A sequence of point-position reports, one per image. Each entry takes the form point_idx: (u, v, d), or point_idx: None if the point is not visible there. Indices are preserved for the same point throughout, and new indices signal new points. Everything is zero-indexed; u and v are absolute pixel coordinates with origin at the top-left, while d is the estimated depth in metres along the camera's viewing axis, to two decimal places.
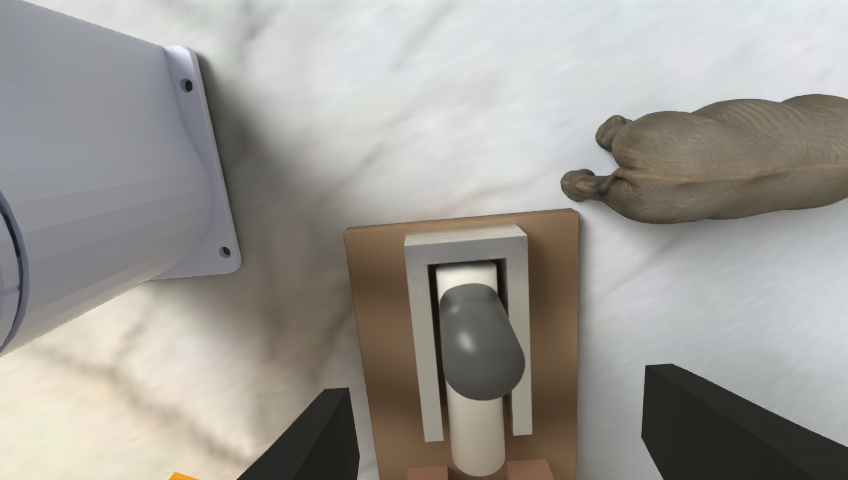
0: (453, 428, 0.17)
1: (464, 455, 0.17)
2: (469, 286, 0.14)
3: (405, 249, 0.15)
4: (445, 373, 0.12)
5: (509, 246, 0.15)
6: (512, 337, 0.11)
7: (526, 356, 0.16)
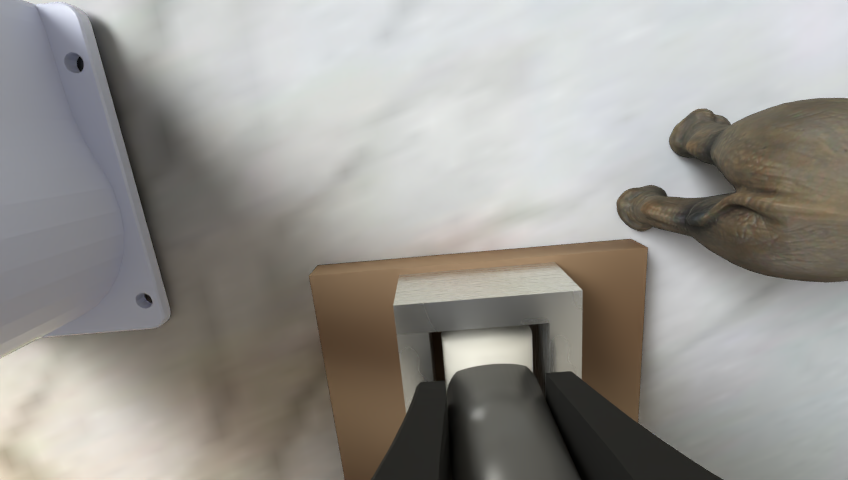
0: None
1: None
2: (494, 371, 0.09)
3: (395, 310, 0.10)
4: None
5: (554, 306, 0.10)
6: None
7: None
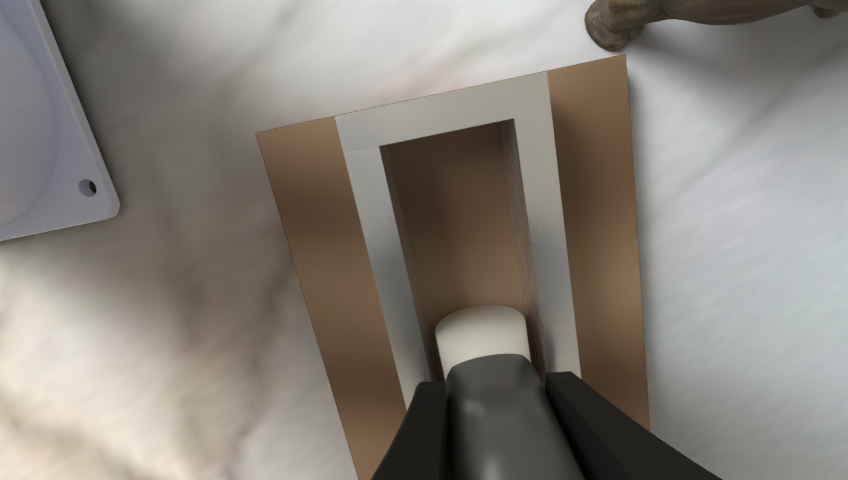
0: None
1: None
2: (488, 363, 0.09)
3: (337, 121, 0.09)
4: None
5: (517, 95, 0.08)
6: None
7: (565, 292, 0.10)
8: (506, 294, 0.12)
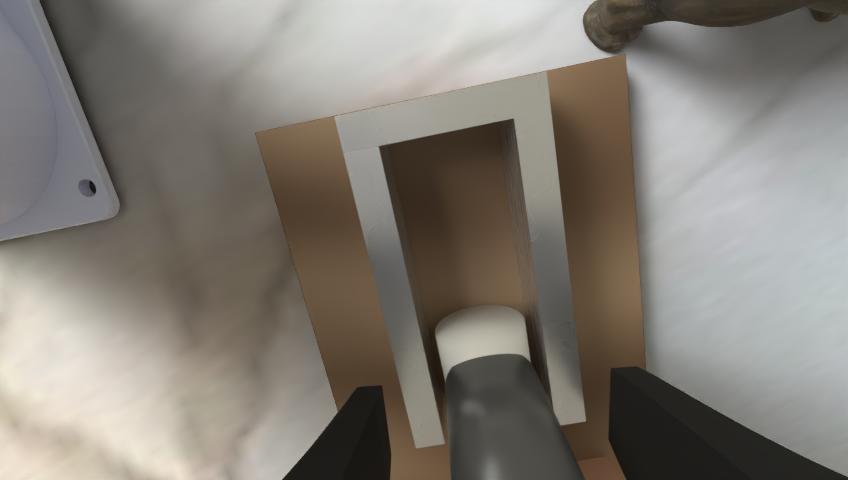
0: None
1: None
2: (487, 363, 0.09)
3: (337, 121, 0.09)
4: None
5: (517, 96, 0.08)
6: None
7: (565, 292, 0.10)
8: (506, 294, 0.12)
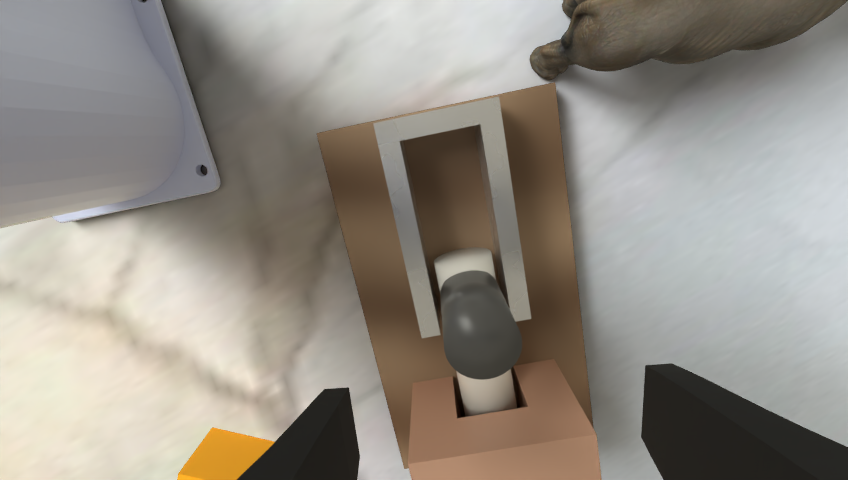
0: (468, 413, 0.18)
1: None
2: (466, 273, 0.15)
3: (375, 126, 0.14)
4: (447, 356, 0.12)
5: (482, 111, 0.14)
6: (506, 316, 0.12)
7: (514, 232, 0.15)
8: (482, 241, 0.18)
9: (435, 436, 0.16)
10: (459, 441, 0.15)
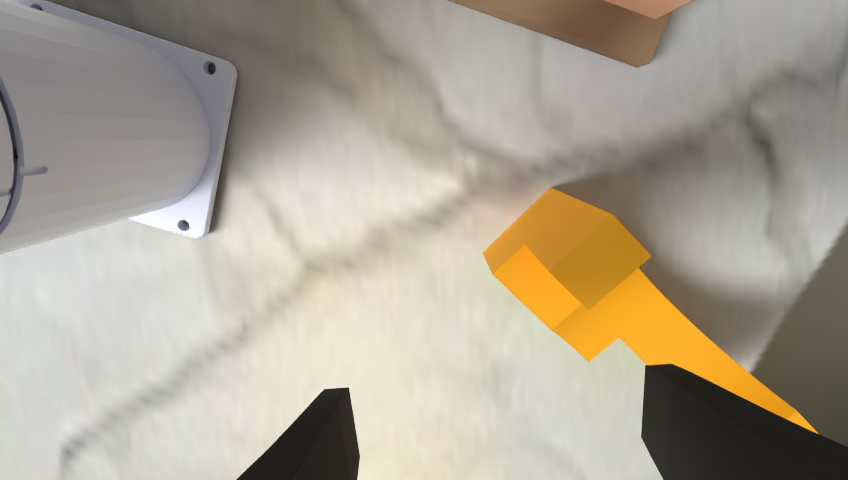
0: None
1: None
2: None
3: None
4: None
5: None
6: None
7: None
8: None
9: None
10: None
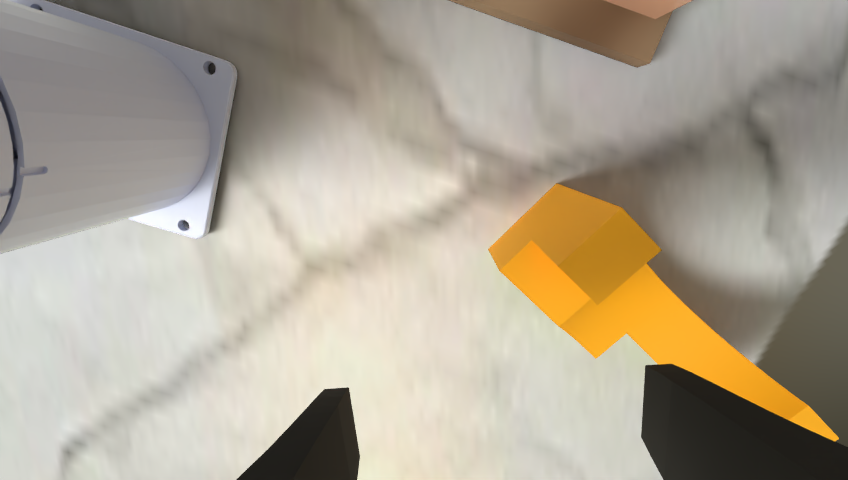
0: None
1: None
2: None
3: None
4: None
5: None
6: None
7: None
8: None
9: None
10: None
